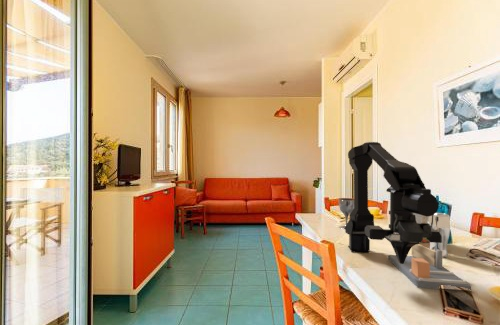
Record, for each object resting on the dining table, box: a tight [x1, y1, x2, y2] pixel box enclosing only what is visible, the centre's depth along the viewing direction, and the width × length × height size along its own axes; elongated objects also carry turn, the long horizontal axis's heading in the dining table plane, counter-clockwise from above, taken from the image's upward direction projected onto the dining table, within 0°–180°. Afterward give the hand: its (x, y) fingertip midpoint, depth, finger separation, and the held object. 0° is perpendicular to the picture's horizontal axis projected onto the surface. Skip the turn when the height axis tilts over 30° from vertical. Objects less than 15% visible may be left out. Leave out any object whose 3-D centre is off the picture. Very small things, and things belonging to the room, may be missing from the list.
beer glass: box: [427, 212, 451, 258], centre depth 95 cm, size 7×7×15 cm
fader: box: [411, 258, 430, 278], centre depth 73 cm, size 3×4×4 cm
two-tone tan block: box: [411, 243, 436, 266], centre depth 85 cm, size 10×1×4 cm, turn 7°
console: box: [388, 250, 472, 291], centre depth 79 cm, size 13×21×7 cm, turn 171°
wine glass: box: [338, 197, 354, 230], centre depth 135 cm, size 8×8×15 cm
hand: (401, 263), depth 74 cm, fingers closed
